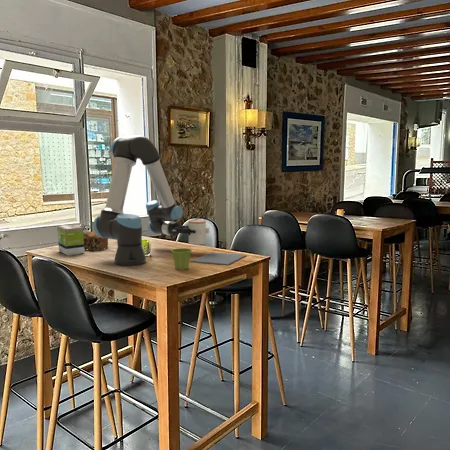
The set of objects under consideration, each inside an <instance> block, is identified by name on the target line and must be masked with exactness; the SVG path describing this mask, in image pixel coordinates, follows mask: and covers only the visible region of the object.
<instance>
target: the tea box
mask: <svg viewBox="0 0 450 450" xmlns="http://www.w3.org/2000/svg"><path fill="white" fill-rule="evenodd" d="M56 230H57V239H58V240H57V242H58V251H59V252H60V251H61V253H63V254H64V255H65V254H66V255H65V256H67V255H68V256H71V255H70V254H76V255H79V254H78V253H83V254H85V250H84V235H83V232H84V227H82V226H81V225H77V224H65V225H57V229H56Z"/></svg>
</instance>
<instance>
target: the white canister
mask: <svg viewBox="0 0 450 450" xmlns="http://www.w3.org/2000/svg"><path fill="white" fill-rule="evenodd" d="M188 226H189V229H190V230H191V229H202V235H198V234H191V233H190V235H188V244H190V245H196V246H197V245H198V246H199V245H204V244H206V242H207V241H206V240H207V238H206V237H207V233H206V228H207V221H206V220H190V221H189V220H188Z"/></svg>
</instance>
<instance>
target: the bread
mask: <svg viewBox="0 0 450 450" xmlns="http://www.w3.org/2000/svg"><path fill="white" fill-rule="evenodd" d="M83 235H84V249H88V250H87V251H96V250H97V251H102V250H105V249H108V246H109V239H105V238H101V237H99V236H98V235H97V234H96V232H95V231H83ZM104 248H105V249H104ZM101 249H102V250H101Z"/></svg>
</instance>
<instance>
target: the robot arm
mask: <svg viewBox="0 0 450 450" xmlns="http://www.w3.org/2000/svg"><path fill="white" fill-rule="evenodd" d="M110 152H111V155H112V156H113V159H112V160H113V161H114V168H113V172H112V177H111V181H110V185H109V191H108V193H107V198H106V202H105V203H106V204H105V207H104V208H102V209H101V210H100V214H99V215H97V216H96V217H95V219H94V220H93V232H96V234H97V235H98V236H99V237H101V238H105V239H108V240H116V241H117V242H116V243H117V248H116V253H115V256H114V264H115V265H117V266H139V265H142V264H145V263H146V262H147V257H146V254H145V250H144V247H143V242H142V241H143V231H142V230H143V229H142V228H143V227H142V226H143V225H142V219H141V217H140V216H139V215H137V214H132V213H124V211H123V210H124V206H125V205H124V204H125V202H126V201H125V200H126V196H127V192H128V188H129V183H130V180H131V179H130V178H131V173H132V170H133V169H132V168H133V167H134V166H136V165H137V161H138V159H139V160H140V161H141V163H142V165H143V166H145V168H146V170H147V173H148V175H149V178H150V181H151V183H152V185H153V188H154V190H155V193H156V196H157V198H158V200H159V201H158V200H155V199H153V200H150V201H147V203H146V204H145V209H146V212H147V215H148V218H149V222H148V223H147V229H148V231H149V232H150V233H152V234H156V235H158V234H159V235H166V236H168V237H169V236H179V235H180V234H185V235H188V236H189V235H190V233H191V234H198V235H202V229H191V230H190V229H189V225H181V224H180V222H178V221H175V220H180V219H182V217H183V213H184V212H183V208H182V207H181V206H180V205H177V204H176V201H175V199H174V197H173V193H172V191H171V188H170V185H169V183H168V180H167V177H166V175H165V172H164V169H163V166H162V163H161V158H162V157H161V155H160V152H159V151H158V148H157V147H156V146H155V144H154V143H153V142H152V141H151V140H150V139H149V138H148V137H146V136H144V135H141V134H140V135H139V134H138V135H122V136H118V137H117V138H115V139H114V140H113V141H112V142H111V146H110ZM168 220H169V221H168ZM170 220H171V221H170ZM206 234H210V227H209V228H208V227H206Z"/></svg>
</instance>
